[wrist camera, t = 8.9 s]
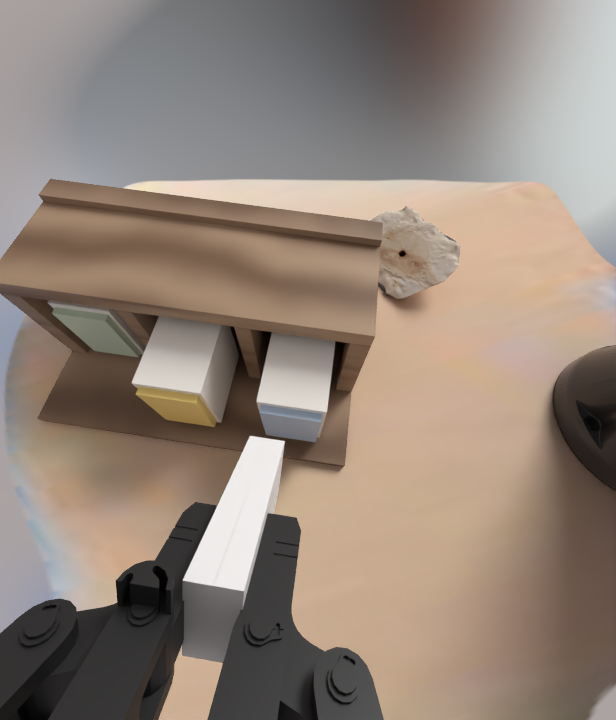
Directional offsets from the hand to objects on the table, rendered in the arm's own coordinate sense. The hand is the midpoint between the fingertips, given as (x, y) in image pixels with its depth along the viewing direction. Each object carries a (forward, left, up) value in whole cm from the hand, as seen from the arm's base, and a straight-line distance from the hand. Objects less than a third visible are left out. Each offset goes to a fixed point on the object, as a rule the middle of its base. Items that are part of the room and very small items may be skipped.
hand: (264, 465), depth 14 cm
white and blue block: (+4, -7, -15) cm, 17 cm away
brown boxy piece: (+13, -5, -16) cm, 21 cm away
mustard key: (+12, -3, -15) cm, 19 cm away
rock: (+6, -29, -16) cm, 34 cm away
